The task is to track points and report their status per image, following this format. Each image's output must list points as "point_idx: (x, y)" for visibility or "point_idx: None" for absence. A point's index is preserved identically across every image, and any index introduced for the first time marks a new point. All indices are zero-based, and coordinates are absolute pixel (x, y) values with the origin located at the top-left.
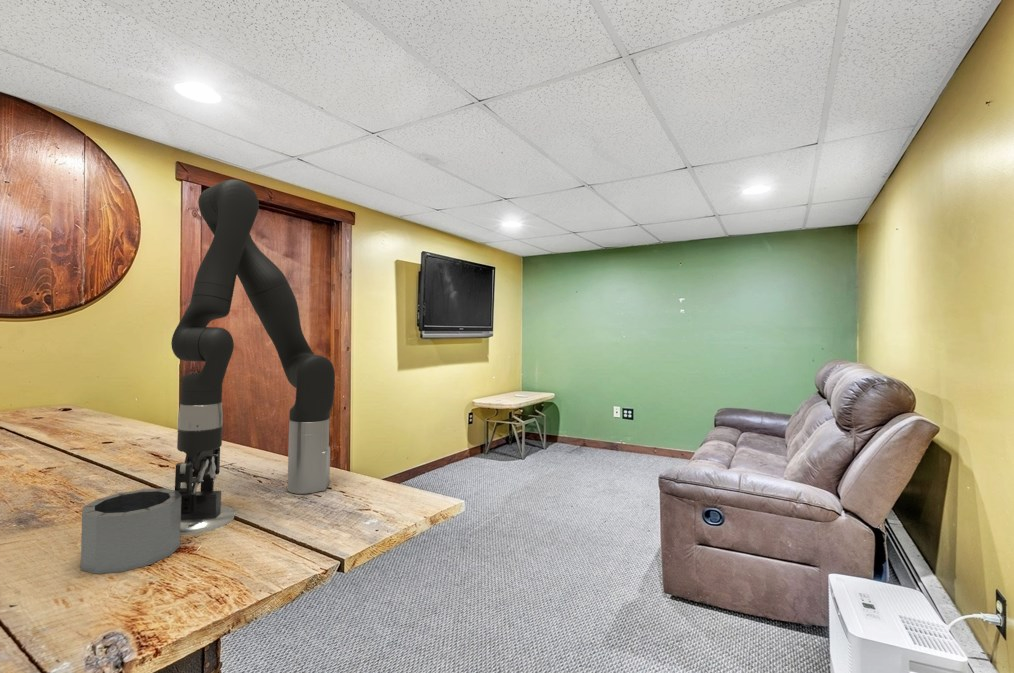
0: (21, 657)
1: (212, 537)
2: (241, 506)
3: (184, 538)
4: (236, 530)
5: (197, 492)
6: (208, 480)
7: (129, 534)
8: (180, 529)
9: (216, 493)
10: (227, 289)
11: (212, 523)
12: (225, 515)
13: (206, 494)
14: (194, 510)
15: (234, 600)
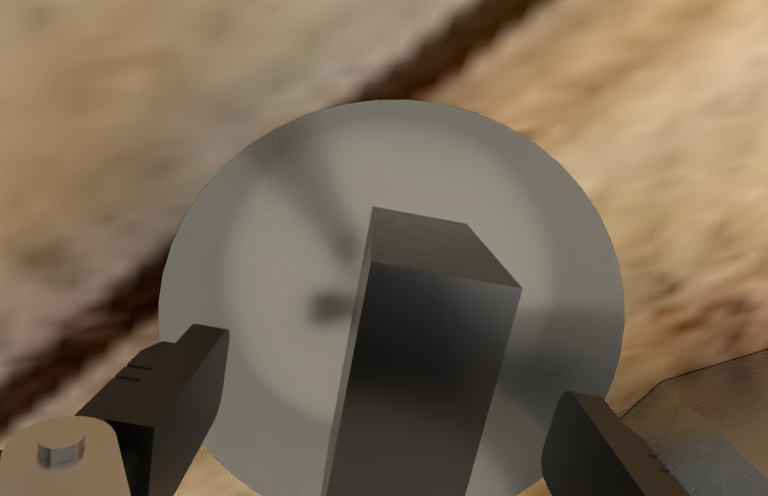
0: None
1: (730, 189)
2: (140, 78)
3: (660, 347)
4: (678, 42)
5: (365, 490)
6: (130, 486)
7: None
8: None
9: (475, 295)
10: None
11: (567, 227)
12: (429, 161)
13: (472, 393)
14: (593, 399)
15: None
